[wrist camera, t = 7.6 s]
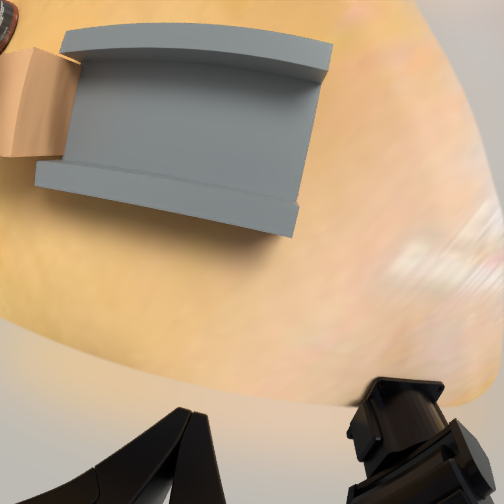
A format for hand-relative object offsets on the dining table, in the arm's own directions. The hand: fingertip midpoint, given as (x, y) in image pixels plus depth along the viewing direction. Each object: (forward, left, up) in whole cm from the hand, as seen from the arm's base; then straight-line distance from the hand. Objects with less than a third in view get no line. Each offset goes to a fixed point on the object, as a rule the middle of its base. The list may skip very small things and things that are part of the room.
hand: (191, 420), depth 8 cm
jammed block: (+16, -9, -11) cm, 21 cm away
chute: (+5, -9, -12) cm, 16 cm away
